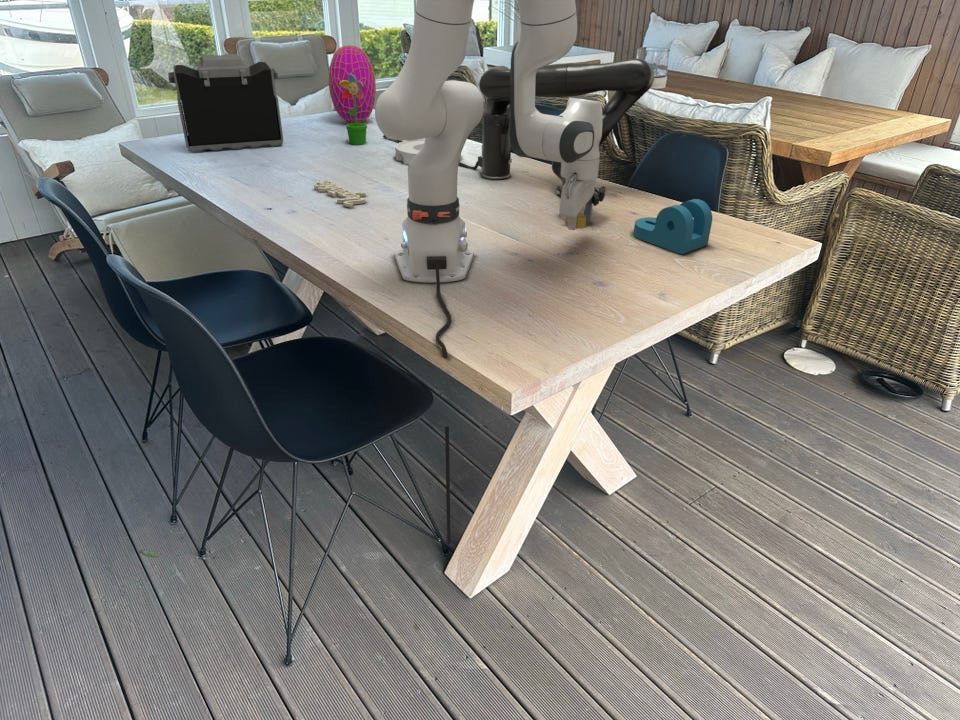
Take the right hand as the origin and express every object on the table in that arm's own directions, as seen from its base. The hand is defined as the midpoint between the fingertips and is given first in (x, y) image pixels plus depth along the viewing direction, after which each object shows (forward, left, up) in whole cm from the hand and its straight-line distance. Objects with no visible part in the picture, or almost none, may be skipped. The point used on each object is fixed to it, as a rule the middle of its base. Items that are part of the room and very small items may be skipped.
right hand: (586, 202), depth 180 cm
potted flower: (-115, -26, -7) cm, 118 cm away
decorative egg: (-150, -16, -7) cm, 151 cm away
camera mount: (+17, +13, -7) cm, 23 cm away
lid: (+11, -11, +1) cm, 15 cm away
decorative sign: (-54, -50, -7) cm, 74 cm away
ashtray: (-83, -10, -7) cm, 84 cm away
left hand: (+11, -11, -1) cm, 15 cm away
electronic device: (-133, -68, -7) cm, 150 cm away
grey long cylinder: (-2, +1, -7) cm, 7 cm away
